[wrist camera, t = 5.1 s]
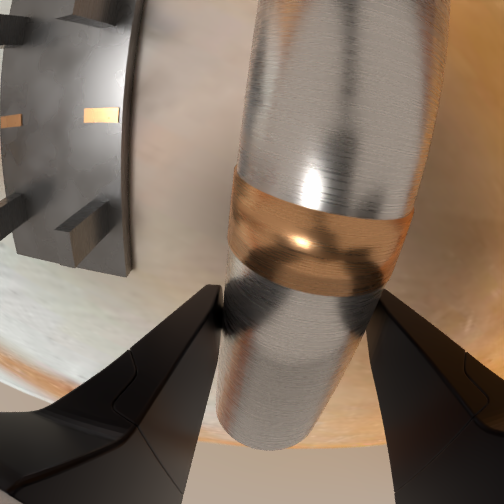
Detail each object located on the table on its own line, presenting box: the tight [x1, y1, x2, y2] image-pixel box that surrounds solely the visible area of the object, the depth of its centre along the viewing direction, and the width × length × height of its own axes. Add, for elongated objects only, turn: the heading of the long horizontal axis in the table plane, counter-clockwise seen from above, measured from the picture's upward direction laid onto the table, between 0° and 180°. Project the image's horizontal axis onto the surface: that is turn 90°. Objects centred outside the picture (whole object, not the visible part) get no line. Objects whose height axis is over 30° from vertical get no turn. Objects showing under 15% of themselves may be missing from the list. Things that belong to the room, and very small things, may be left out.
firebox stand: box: [0, 0, 144, 277], centre depth 13 cm, size 10×20×5 cm, turn 172°
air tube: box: [216, 0, 450, 450], centre depth 7 cm, size 16×4×4 cm, turn 173°
